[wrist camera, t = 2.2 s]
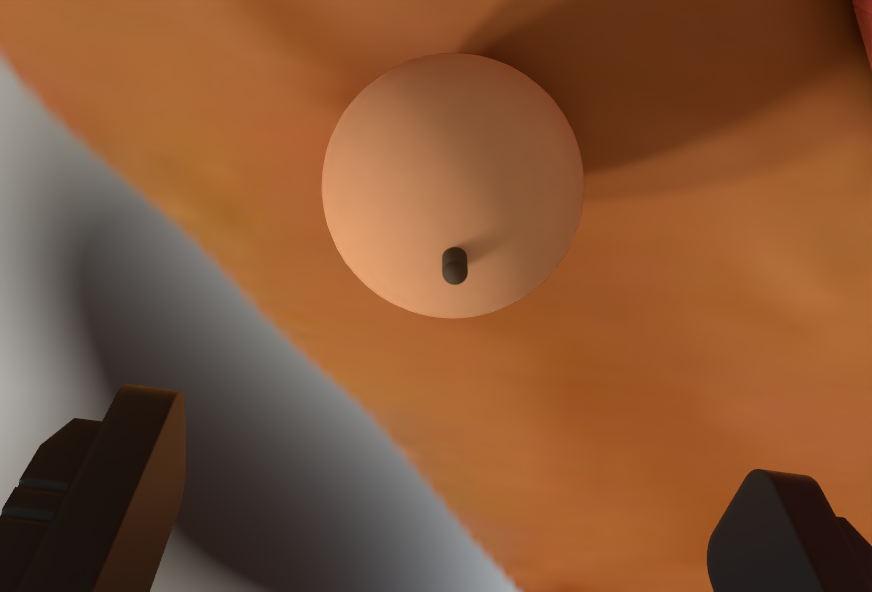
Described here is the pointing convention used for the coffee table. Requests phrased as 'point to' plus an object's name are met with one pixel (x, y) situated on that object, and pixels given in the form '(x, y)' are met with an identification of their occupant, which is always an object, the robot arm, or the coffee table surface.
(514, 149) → the peach
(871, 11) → the bowl
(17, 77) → the coffee table surface
